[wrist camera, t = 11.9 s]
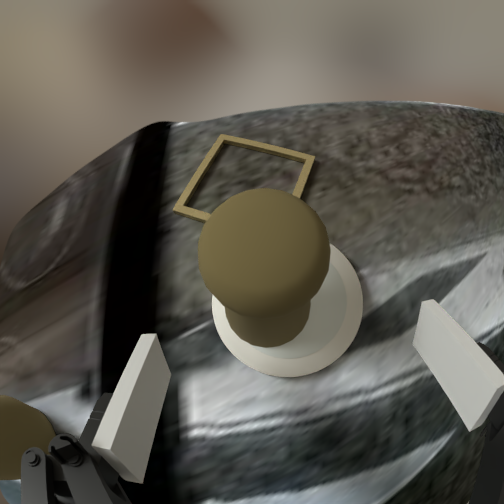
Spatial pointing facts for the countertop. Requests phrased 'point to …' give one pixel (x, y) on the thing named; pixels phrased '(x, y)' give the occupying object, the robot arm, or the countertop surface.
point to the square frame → (245, 143)
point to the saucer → (307, 327)
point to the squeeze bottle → (20, 434)
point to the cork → (264, 263)
